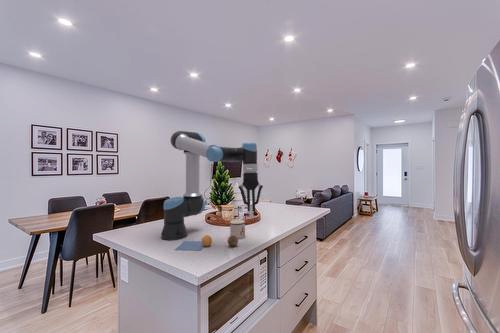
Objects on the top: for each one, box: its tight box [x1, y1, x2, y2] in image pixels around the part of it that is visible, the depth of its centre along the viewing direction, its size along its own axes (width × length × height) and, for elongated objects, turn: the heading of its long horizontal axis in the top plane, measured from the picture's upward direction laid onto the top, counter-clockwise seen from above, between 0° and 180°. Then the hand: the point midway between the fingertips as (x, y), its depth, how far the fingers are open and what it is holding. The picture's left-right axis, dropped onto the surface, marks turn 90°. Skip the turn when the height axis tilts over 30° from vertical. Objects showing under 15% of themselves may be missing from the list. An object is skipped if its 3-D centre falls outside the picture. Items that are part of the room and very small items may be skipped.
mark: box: [174, 240, 206, 251], centre depth 126 cm, size 14×14×1 cm
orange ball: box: [201, 234, 213, 247], centre depth 125 cm, size 6×6×6 cm
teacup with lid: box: [229, 216, 246, 240], centre depth 142 cm, size 12×9×12 cm
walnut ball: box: [227, 236, 239, 247], centre depth 124 cm, size 6×6×6 cm
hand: (251, 217), depth 123 cm, fingers closed
